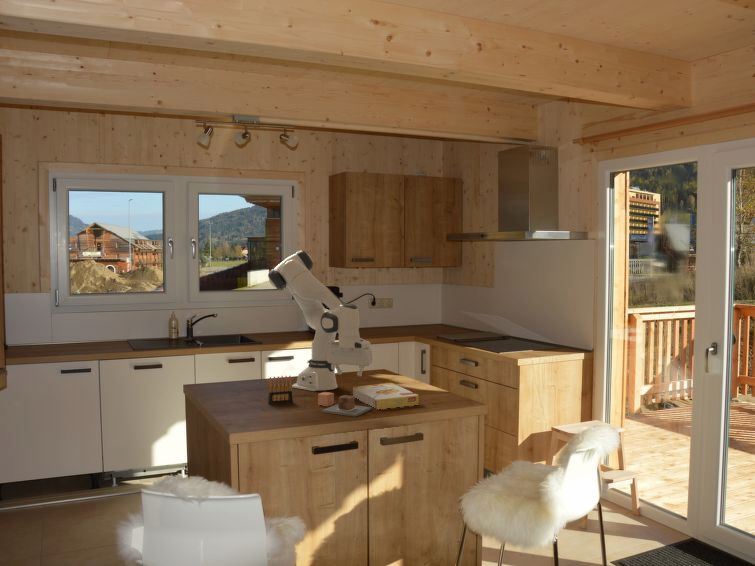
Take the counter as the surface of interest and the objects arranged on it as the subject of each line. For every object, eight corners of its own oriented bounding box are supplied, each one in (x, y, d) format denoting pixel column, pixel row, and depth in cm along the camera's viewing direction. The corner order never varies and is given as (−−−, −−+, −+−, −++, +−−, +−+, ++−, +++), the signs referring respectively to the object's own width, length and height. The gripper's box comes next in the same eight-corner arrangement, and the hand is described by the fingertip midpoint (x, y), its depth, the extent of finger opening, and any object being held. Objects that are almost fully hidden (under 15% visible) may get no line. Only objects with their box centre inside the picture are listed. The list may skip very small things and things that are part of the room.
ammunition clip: (291, 401, 305) (291, 374, 304) (292, 402, 303) (292, 375, 303) (268, 403, 301) (267, 376, 300) (268, 404, 299) (268, 377, 299)
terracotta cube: (318, 405, 297) (318, 394, 297) (324, 403, 302) (324, 391, 302) (327, 406, 295) (327, 395, 295) (333, 404, 299) (333, 393, 299)
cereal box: (391, 381, 322) (419, 393, 297) (391, 393, 323) (419, 405, 297) (351, 386, 314) (377, 398, 288) (352, 398, 314) (377, 411, 289)
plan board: (322, 412, 284) (322, 409, 284) (338, 405, 297) (338, 403, 297) (355, 416, 277) (355, 414, 277) (371, 409, 289) (371, 407, 289)
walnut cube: (338, 409, 286) (338, 397, 285) (344, 406, 290) (344, 395, 290) (349, 410, 283) (349, 398, 283) (354, 407, 288) (354, 396, 287)
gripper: (323, 342, 287) (324, 374, 288) (367, 344, 278) (367, 378, 279) (331, 340, 293) (331, 371, 294) (374, 342, 284) (374, 375, 285)
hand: (349, 375), depth 286 cm, fingers open, 8 cm apart
